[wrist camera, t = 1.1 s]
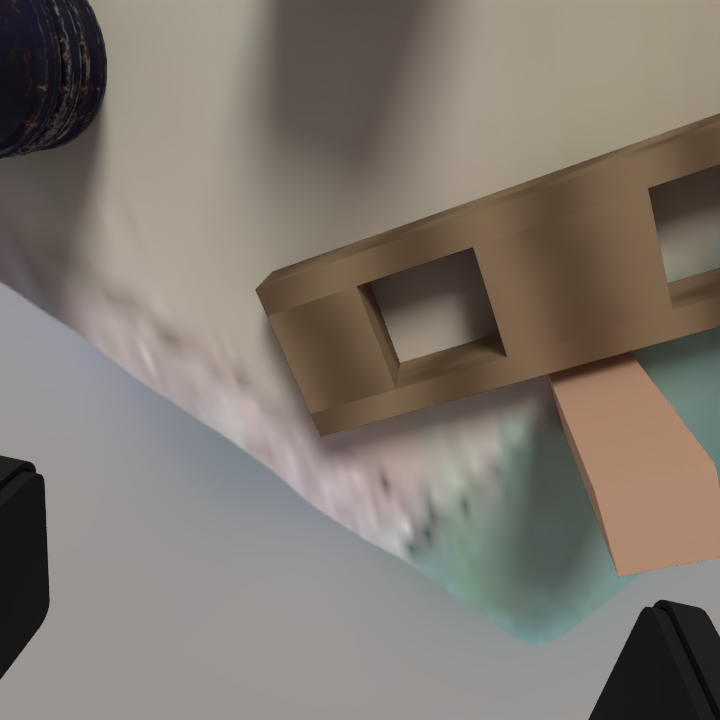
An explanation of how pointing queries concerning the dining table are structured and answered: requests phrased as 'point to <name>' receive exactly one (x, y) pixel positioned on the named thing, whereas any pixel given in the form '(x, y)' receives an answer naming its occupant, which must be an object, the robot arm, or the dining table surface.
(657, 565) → the peg
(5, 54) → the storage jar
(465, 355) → the rail
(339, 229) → the dining table surface
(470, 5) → the dining table surface
